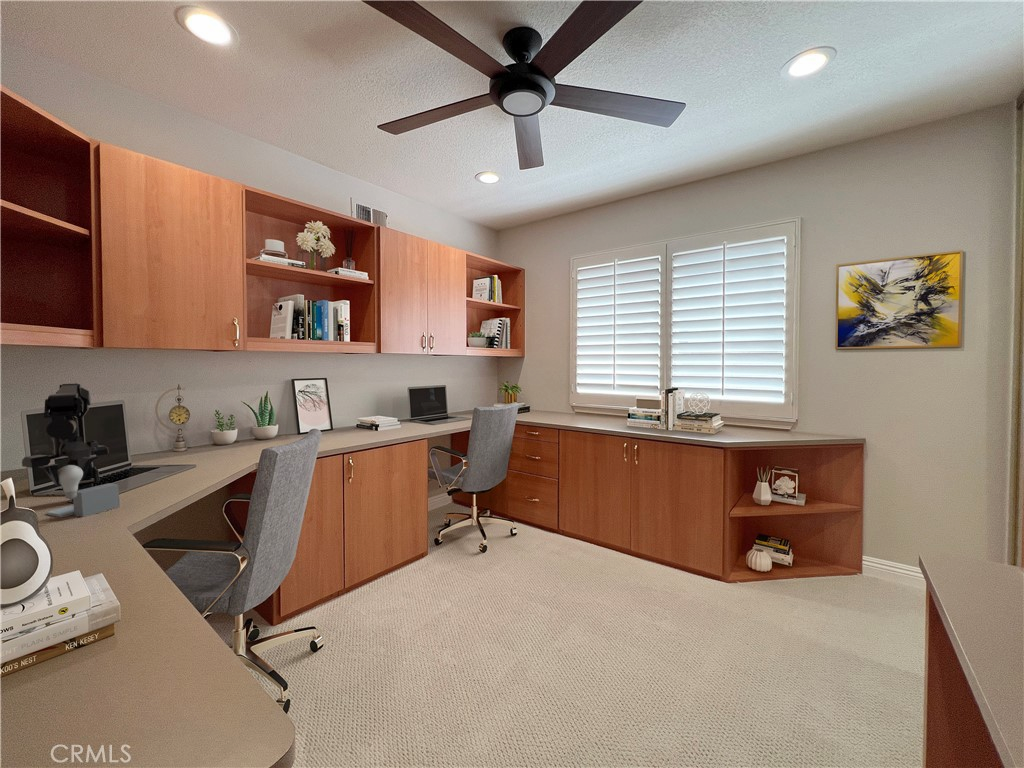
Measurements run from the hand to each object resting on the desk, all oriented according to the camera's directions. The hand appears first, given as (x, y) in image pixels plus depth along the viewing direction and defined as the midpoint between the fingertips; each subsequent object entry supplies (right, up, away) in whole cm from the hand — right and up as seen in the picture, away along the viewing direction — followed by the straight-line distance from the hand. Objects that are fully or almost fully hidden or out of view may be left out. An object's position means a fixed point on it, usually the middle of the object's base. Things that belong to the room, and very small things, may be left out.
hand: (70, 482), depth 136 cm
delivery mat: (-10, -12, +10) cm, 19 cm away
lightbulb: (0, -6, 0) cm, 6 cm away
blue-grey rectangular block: (-1, -12, +10) cm, 16 cm away
